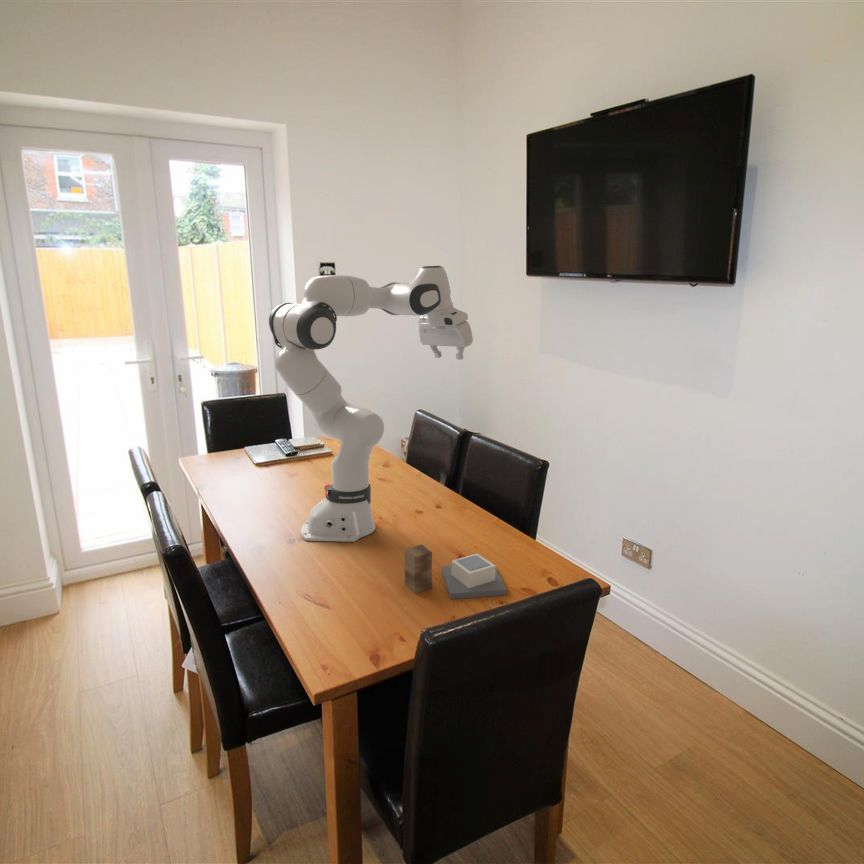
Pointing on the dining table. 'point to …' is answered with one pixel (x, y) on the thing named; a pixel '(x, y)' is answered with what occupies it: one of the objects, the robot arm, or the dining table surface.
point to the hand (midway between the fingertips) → (449, 358)
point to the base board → (473, 591)
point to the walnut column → (418, 568)
